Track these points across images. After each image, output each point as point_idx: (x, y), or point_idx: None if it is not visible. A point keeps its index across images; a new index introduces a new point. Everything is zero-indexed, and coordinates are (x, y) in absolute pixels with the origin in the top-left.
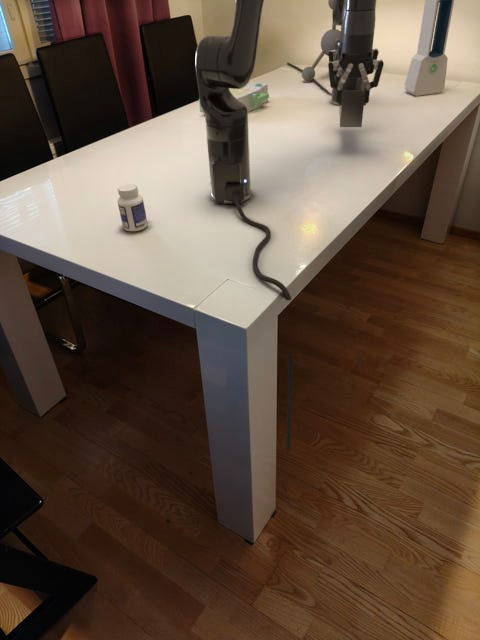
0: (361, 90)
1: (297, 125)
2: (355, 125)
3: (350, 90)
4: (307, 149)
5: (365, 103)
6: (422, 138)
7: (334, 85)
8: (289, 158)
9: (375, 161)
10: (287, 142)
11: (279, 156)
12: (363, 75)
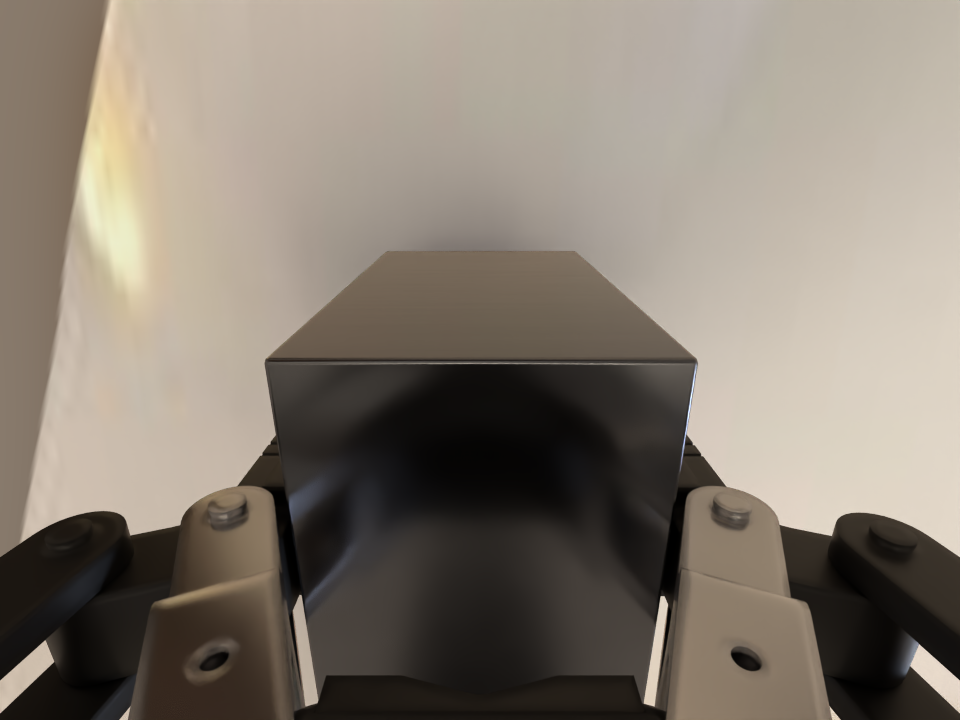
0: (337, 357)
1: None
2: (438, 253)
3: (547, 360)
4: (722, 330)
5: None
6: (76, 501)
7: (853, 541)
8: (863, 163)
9: (306, 111)
10: (822, 444)
11: (921, 202)
12: (232, 675)
